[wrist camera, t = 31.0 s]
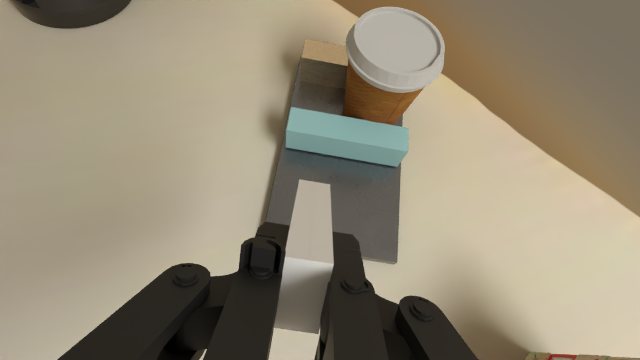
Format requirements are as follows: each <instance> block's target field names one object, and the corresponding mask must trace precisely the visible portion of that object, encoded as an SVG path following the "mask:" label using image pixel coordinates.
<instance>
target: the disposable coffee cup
mask: <svg viewBox="0 0 640 360" xmlns="http://www.w3.org/2000/svg"><path fill="white" fill-rule="evenodd" d="M346 52H347V55H348V67H347V78H346V79H347V80H346V88H345V100H344V111H343V116H345V117H350V118H356V119H362V120H367V121H371V122H376V123H384V124H389V125H394V124H395V123H396V121H397V120H398V119H399V118H400V117H401V115H402V114H403V113H404V112H405V110H406V109H407V108H408V107H409V105H410V104H411V103H412V102H413V100H414V99H415V98H416V97H417V96H418V94H419V93H420V92H421V91H422V90H423V88H424V87H425V86H427V85H428V84H430V83H432V82H433V81H434V80H435V79H436V78H437V77H438V75H439V74H440V73H441V71H442V68H443V64H444V52H445V46H444V41H443V39H442V36H441V34H440V32H439V31H438V29H437V28H436V27H435V26H434V25H433V24H432V23H431V22H430V21H429V20H427V19H426V18H425V17H423V16H421V15H420V14H418V13H415V12H413V11H410V10H407V9H404V8H398V7H381V8H376V9H372V10H370V11H368V12H367V13H365V14H363V15H362V16H361V17H360V18H359V19H358V21H357V23H356V24H354V26H353V27H352V28H351V29H350V31H349V33H348V35H347V38H346Z"/></svg>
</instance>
